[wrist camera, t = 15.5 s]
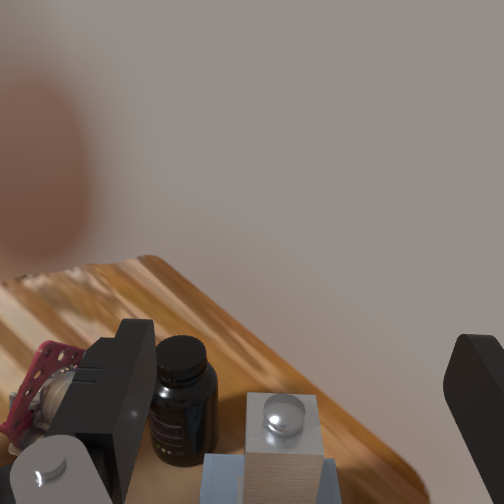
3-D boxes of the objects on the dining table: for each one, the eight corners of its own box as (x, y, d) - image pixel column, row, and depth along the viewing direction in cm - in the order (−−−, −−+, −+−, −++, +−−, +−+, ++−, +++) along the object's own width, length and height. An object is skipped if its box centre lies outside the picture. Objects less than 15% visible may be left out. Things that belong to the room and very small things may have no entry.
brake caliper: (52, 353, 54) (89, 305, 46) (117, 420, 54) (164, 383, 47) (-38, 423, 45) (-9, 377, 37) (40, 503, 45) (84, 473, 38)
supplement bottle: (176, 404, 51) (172, 318, 45) (230, 429, 48) (232, 341, 43) (136, 451, 46) (125, 360, 40) (193, 482, 43) (191, 390, 37)
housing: (312, 556, 34) (334, 448, 28) (234, 553, 34) (239, 444, 28) (305, 483, 39) (322, 379, 33) (237, 481, 39) (242, 375, 33)
